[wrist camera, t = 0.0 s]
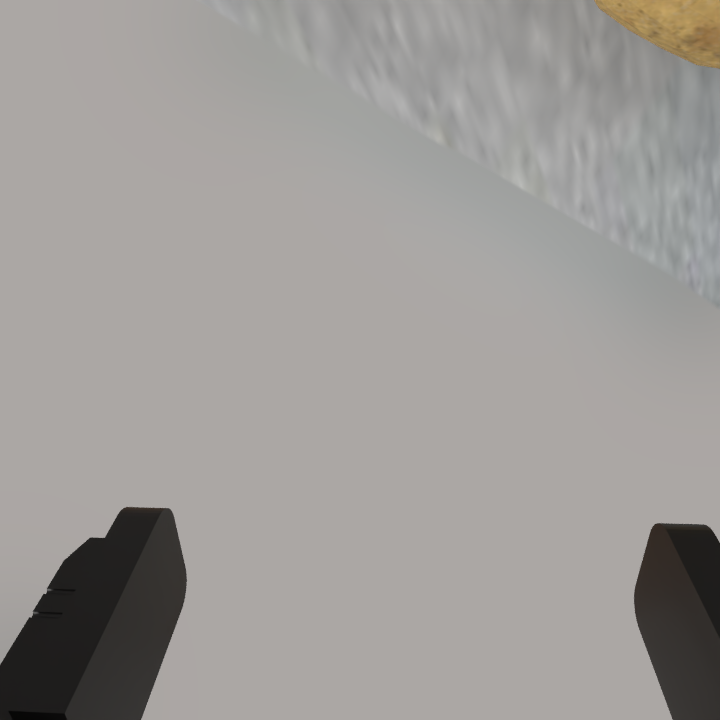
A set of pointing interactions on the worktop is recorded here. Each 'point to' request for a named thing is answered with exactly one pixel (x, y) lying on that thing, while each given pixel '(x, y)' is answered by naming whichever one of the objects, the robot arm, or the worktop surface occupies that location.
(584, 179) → the worktop surface
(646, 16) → the potato
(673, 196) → the worktop surface
